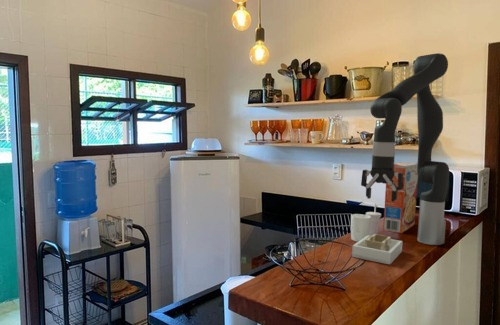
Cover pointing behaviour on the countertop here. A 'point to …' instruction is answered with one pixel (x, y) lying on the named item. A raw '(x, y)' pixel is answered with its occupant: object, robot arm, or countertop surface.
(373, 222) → the smoothie
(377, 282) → the countertop surface
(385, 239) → the birch crate
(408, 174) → the orange cereal box
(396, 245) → the white crate
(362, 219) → the white cup
